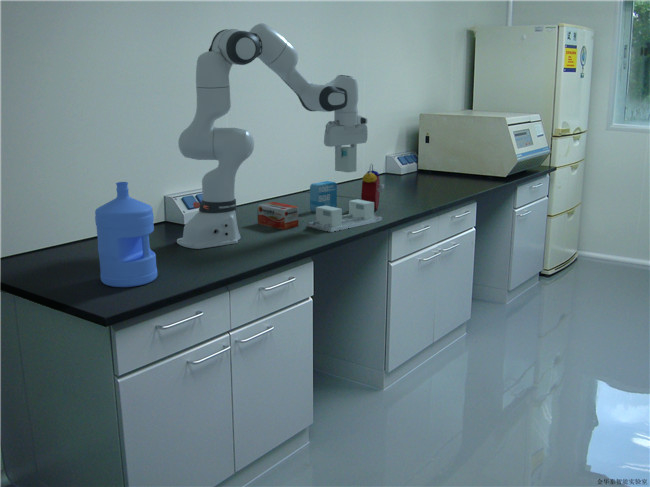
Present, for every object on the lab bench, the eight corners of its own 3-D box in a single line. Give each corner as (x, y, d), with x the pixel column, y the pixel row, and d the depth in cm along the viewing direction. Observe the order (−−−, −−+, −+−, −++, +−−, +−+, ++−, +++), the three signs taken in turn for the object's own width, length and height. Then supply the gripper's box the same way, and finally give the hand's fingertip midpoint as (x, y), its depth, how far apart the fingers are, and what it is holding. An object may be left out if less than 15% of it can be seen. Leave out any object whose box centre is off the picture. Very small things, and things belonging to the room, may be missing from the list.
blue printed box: (317, 213, 276) (317, 185, 273) (309, 211, 279) (309, 183, 276) (337, 209, 284) (337, 181, 281) (329, 207, 287) (329, 180, 284)
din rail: (331, 232, 243) (331, 226, 243) (307, 226, 252) (307, 221, 252) (381, 220, 262) (381, 215, 261) (358, 215, 271) (358, 210, 271)
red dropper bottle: (365, 206, 290) (366, 160, 285) (385, 207, 288) (386, 161, 283) (360, 213, 276) (361, 165, 271) (381, 214, 274) (382, 166, 269)
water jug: (89, 284, 185) (79, 185, 177) (124, 269, 199) (116, 177, 192) (135, 291, 179) (127, 189, 172) (168, 274, 193) (162, 180, 186)
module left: (332, 226, 246) (332, 210, 244) (315, 222, 252) (315, 207, 251) (341, 224, 249) (342, 208, 248) (325, 220, 256) (325, 205, 254)
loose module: (348, 172, 248) (348, 148, 246) (334, 170, 253) (334, 147, 251) (356, 171, 251) (356, 147, 249) (343, 169, 256) (343, 146, 254)
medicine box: (257, 224, 257) (256, 204, 255) (272, 220, 263) (272, 201, 261) (284, 230, 247) (283, 209, 245) (299, 226, 253) (299, 206, 251)
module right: (365, 219, 258) (365, 204, 256) (348, 215, 264) (348, 200, 263) (374, 217, 261) (374, 202, 260) (357, 213, 268) (357, 199, 266)
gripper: (332, 121, 238) (331, 160, 241) (370, 119, 251) (369, 155, 255) (320, 120, 242) (320, 158, 246) (358, 118, 256) (358, 153, 259)
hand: (345, 156), depth 251 cm, fingers closed on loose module, 5 cm apart
